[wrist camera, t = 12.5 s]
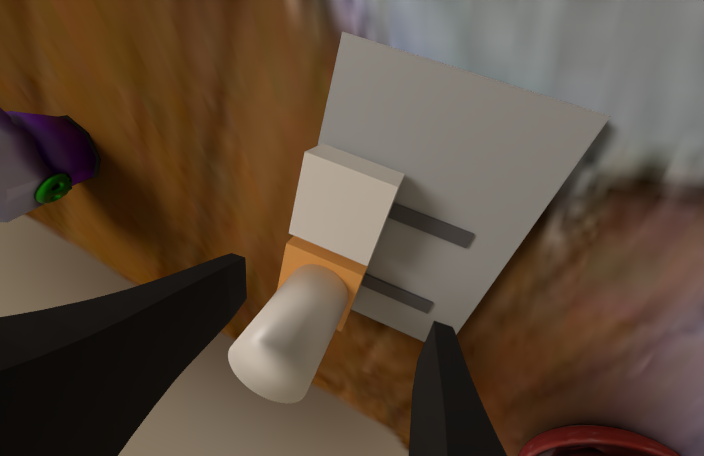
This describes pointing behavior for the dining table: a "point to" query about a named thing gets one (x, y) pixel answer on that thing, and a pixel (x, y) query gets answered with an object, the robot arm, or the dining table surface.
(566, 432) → the plant pot
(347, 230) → the block
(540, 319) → the dining table surface
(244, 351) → the cap
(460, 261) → the panel
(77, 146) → the potion bottle
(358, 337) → the dining table surface
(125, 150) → the dining table surface
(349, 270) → the block
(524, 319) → the dining table surface
